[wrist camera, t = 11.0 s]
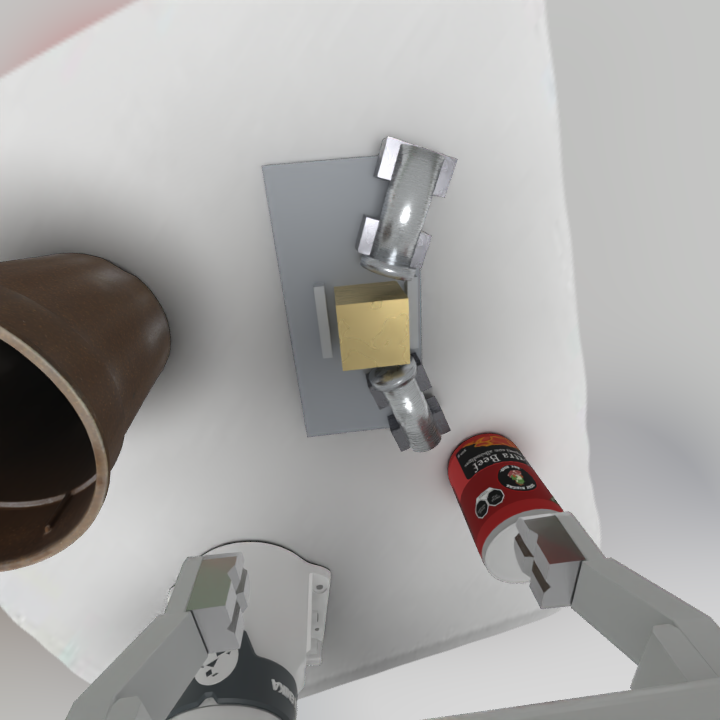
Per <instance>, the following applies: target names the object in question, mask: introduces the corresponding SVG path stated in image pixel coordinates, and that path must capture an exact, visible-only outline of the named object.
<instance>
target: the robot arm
mask: <svg viewBox="0 0 720 720" xmlns="http://www.w3.org/2000/svg"><path fill="white" fill-rule="evenodd" d="M516 528H517V530H518V532H519V533H518V534H517V536H516V537H515V538H514V551H515V556H516V559H517V562H518V564H519V567H520V569H521V571H522V572H523V573H524V574H526V575H527V576H528V577H530V578H531V579H530V588H531V590H532V592H533V594H534V596H535V598H536V600H537V602H538V604H539V606H540V608H541V609H546V608H556V607H565V606H571V608H572V609H573V610H574V611H575V612H577V613H578V614H579V615H580V616H582V618H584V619H585V620H586V621H587V622H588V623H589V624H591V625H592V626H593V627H594V628H595V629H596V630H598V631H599V632H600V633H601V634H602V635H603V636H604V637H606V638H607V639H608V640H609V641H610V642H611V643H612V644H614V645H615V646H616V647H617V648H618V649H619V650H621V651H622V652H623V653H624V654H625V655H627V656H628V657H629V658H630V659H631V660H632V661H633V662H635V663H636V664H637V665H638V667H637V670H636V673H635V675H634V678H633V680H632V684H631V687H630V688H631V690H628V691H621V692H614V693H607V694H600V695H593V696H586V697H579V698H572V699H565V700H558V701H552V702H544V703H537V704H530V705H523V706H516V707H509V708H502V709H495V710H488V711H481V712H474V713H467V714H460V715H452V716H445V717H438V718H431V719H425V720H720V627H719V626H718V625H717V624H716V623H715V622H714V621H713V619H712V618H711V617H709V616H708V615H706V614H704V613H703V612H701V611H700V610H698V609H696V608H695V607H693V606H691V605H690V604H688V603H686V602H685V601H683V600H681V599H680V598H678V597H676V596H674V595H673V594H671V593H670V592H668V591H666V590H665V589H663V588H661V587H660V586H658V585H656V584H655V583H652V582H651V581H649V580H648V579H646V578H644V577H643V576H641V575H639V574H638V573H636V572H634V571H633V570H631V569H629V568H628V567H626V566H624V565H623V564H621V563H619V562H618V561H616V560H614V559H612V558H606V557H605V556H604V555H603V554H602V552H601V551H600V549H599V548H598V547H597V545H596V544H595V543H594V541H593V540H592V539H591V537H590V536H589V535H588V533H587V532H586V531H585V530H584V528H583V527H582V526H581V524H580V523H579V522H578V520H577V519H576V518H575V516H574V515H573V514H572V513H571V512H569V511H567V512H559V513H552V514H550V513H549V514H541V515H534V516H527V517H519V518H518V520H517V522H516ZM330 581H331V572H330V571H329V570H328V569H326V568H324V567H321V566H317V565H314V564H310V563H308V562H306V561H304V560H303V559H301V558H300V557H299V556H297V555H296V554H294V553H293V552H291V551H289V550H287V549H284V548H282V547H279V546H276V545H272V544H267V543H260V542H241V543H233V544H228V545H224V546H221V547H218V548H216V549H213V550H211V551H209V552H208V553H206V554H204V555H203V556H195V557H187V559H186V560H185V561H184V563H183V565H182V568H181V570H180V573H179V576H178V578H177V581H176V584H175V586H174V587H172V588H171V589H170V591H169V594H168V598H167V602H168V605H167V608H166V610H165V613H164V614H163V615H158V616H157V617H156V618H155V619H154V620H153V621H152V622H151V623H150V625H149V626H148V627H147V628H146V629H145V630H144V631H143V632H142V633H141V634H140V635H139V636H138V637H137V638H136V639H135V640H134V641H133V642H132V643H131V644H130V645H129V646H128V647H127V648H126V649H125V650H124V651H123V652H122V653H121V654H120V655H119V656H118V657H117V658H116V659H115V660H114V662H113V663H112V664H111V665H110V666H109V667H108V668H107V669H106V670H105V671H104V672H103V673H102V674H101V675H100V676H99V677H98V678H97V679H96V680H95V681H94V682H93V683H92V684H91V685H90V686H89V687H88V688H87V689H86V690H85V691H84V692H83V693H82V694H81V695H80V696H79V697H78V699H77V700H76V701H75V702H74V703H73V705H72V707H71V709H70V711H69V713H68V715H67V717H66V719H65V720H296V716H297V697H298V693H299V692H300V691H301V690H302V689H303V687H304V686H305V673H306V666H309V665H310V666H317V665H320V664H322V645H323V638H324V630H325V622H326V614H327V605H328V597H329V589H330Z"/></svg>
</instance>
